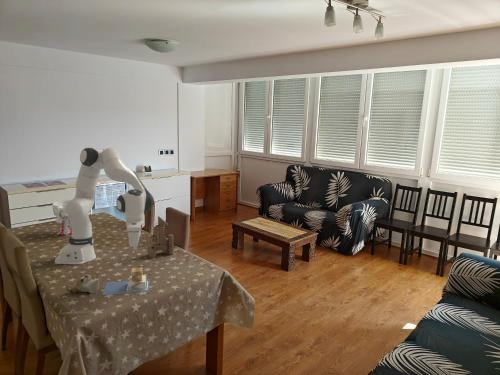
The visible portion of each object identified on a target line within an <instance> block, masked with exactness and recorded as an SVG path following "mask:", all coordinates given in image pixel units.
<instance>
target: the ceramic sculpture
mask: <svg viewBox="0 0 500 375" xmlns="http://www.w3.org/2000/svg"><path fill="white" fill-rule="evenodd" d="M99 288H100V280H99V279H93V278H92V277H91V276H89V275H84V276H83V277H80V278H78V279H77V281H76V283H75V286H72V287H70V288H66V291H68V292H70V293H79V292H81V293H82V292H83V293H87V292H88V293H90V294H93V293H96V292H98V290H99Z"/></svg>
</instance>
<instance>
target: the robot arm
mask: <svg viewBox="0 0 500 375" xmlns="http://www.w3.org/2000/svg"><path fill="white" fill-rule="evenodd" d="M79 156H80V157H79V160H80V163H81V166H80V168H79V171H78V174H77V178H76V182H75V195H74V197H73V198H72V199H69V200H70V201H69V202H68V204H67V206H66V209H65V210H66V213H67V215H68V216H69V219H70V222H71V228H72V235H71V234H70V235H69V238H68V239H67V242H68V243H67V244H65V246H63V247H62V248H61V249H60V251H59V253H58V256H57V257H55V259H54V264H56V265H83V264H84V263H88V262H91V261H94V260H95V259H96V258H97V255H96V253H95V248H94V242H95V241H94V235H93V227H92V225H93V224H92V221H91V220H90V216H89V211H91V210H92V209H93V207H94V204H95V195H96V189H97V185H98V182H99V177H100V175H101V171H102V169H103V170H104V173H105V175H106V177H107V178H109V179H110V180H111V181H114V182H119V183H125V184H128V185H130V186H132V188H133V189H129V190H127V191H126V193H123V194H119V196H118V197H117V198H116V209H117V210H118V211H119V212H120V213H123V214H125V215H126V216H125V227H126V232H127V235H128V244H129V247H131V248H132V249H133V251H137V250H138V248H139V246H138V245H139V241H140V237H141V233H142V229H143V228H144V227H145V222H146V221H145V217H146V216H145V212H149V211H151V209H152V208H154V205H155V199H154V196H153V195H152V194H151V192H150V191H149V190H148V189H147V187H146V186H145V184H144V183H143V181H142V180H141V179H140V177H139V175H138V174H137V173H136V172H135V170H133V169H131V168H129V166H128V165H127V164H126V163H125V161H124V159H123V157H122V155H121V154H120V152H119V151H118V150H117V149H116V148H114V147H107V148H105V149H101V148H93V147H85V148H83V149H82V150H81V152H80V155H79Z"/></svg>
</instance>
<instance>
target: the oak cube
mask: <svg viewBox="0 0 500 375" xmlns="http://www.w3.org/2000/svg"><path fill="white" fill-rule="evenodd" d="M130 273H131V274H130V276H132V281H142V277H143V275H144V274H143V267H142V266H140V267H132V268H131V272H130Z"/></svg>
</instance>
